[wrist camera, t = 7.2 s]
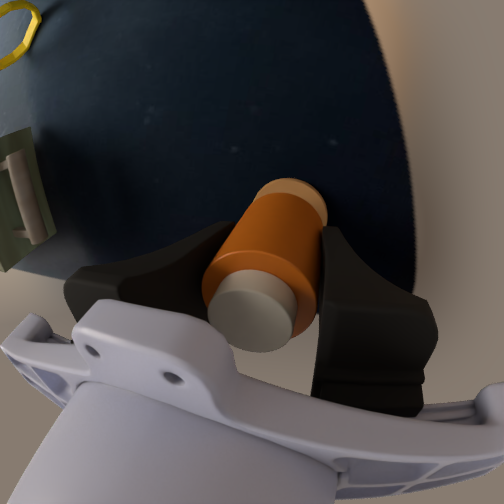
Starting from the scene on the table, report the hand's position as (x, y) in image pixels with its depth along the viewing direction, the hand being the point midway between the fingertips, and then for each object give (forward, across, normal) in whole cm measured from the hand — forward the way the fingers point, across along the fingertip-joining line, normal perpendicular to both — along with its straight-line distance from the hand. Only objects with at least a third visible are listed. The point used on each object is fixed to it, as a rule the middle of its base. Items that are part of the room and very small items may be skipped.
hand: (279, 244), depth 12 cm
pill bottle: (+1, 0, 0) cm, 1 cm away
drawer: (+2, +23, -3) cm, 24 cm away
